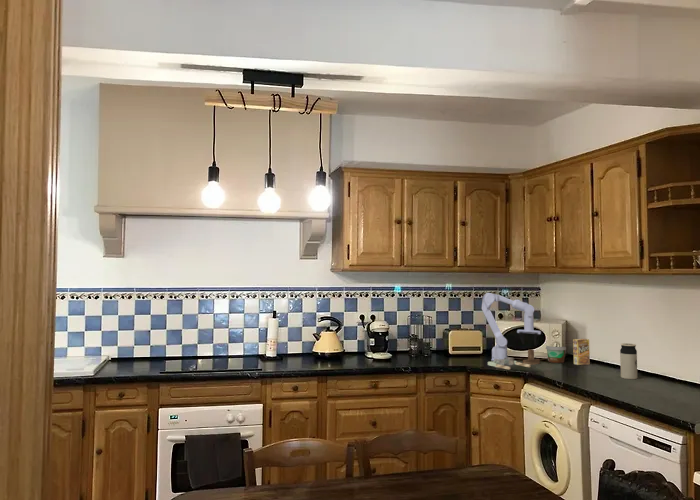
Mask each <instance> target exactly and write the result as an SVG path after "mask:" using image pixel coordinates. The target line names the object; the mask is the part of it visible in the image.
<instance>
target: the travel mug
mask: <svg viewBox="0 0 700 500" xmlns="http://www.w3.org/2000/svg"><path fill="white" fill-rule="evenodd" d="M620 346H621V347H620V349H619V350H620V351H619V353H620V357H619V358H620V360H619V361H620V378H621V379H624V380H637V379H638V350H637V348H636V346H637V344H636V343H625V342H624V343H620Z"/></svg>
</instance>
